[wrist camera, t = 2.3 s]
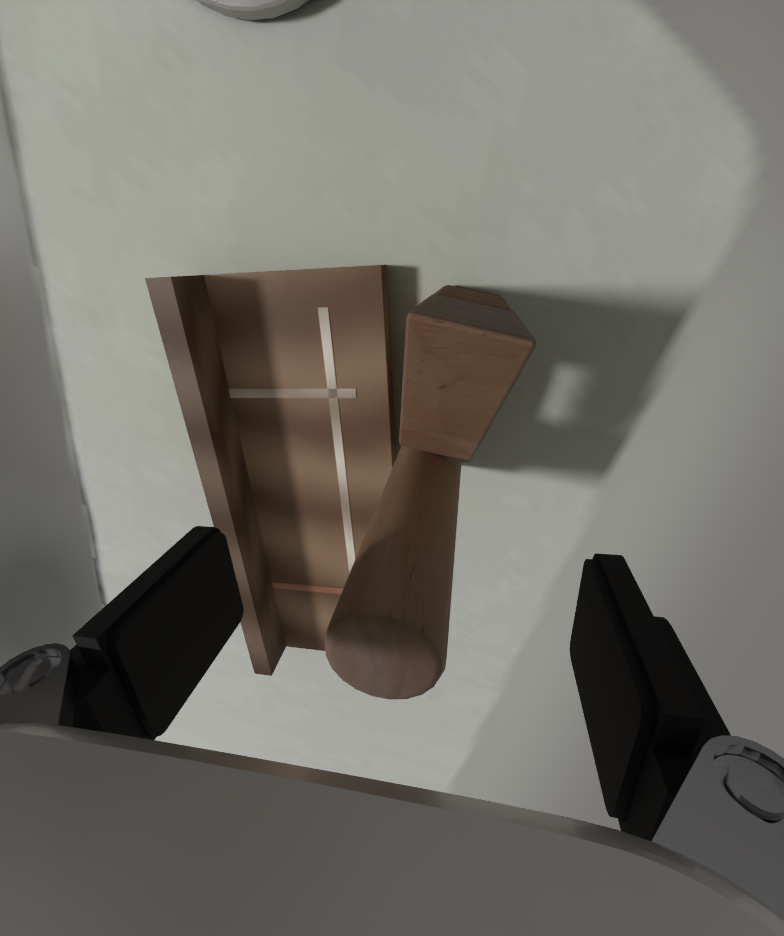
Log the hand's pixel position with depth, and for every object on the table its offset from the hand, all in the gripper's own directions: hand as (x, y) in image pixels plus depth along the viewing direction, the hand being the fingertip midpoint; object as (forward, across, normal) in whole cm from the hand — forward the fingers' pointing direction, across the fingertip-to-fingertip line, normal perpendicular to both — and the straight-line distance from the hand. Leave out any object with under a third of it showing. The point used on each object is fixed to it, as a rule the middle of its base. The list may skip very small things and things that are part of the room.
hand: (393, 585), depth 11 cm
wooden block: (+18, 0, -1) cm, 18 cm away
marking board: (+18, +9, +7) cm, 21 cm away
